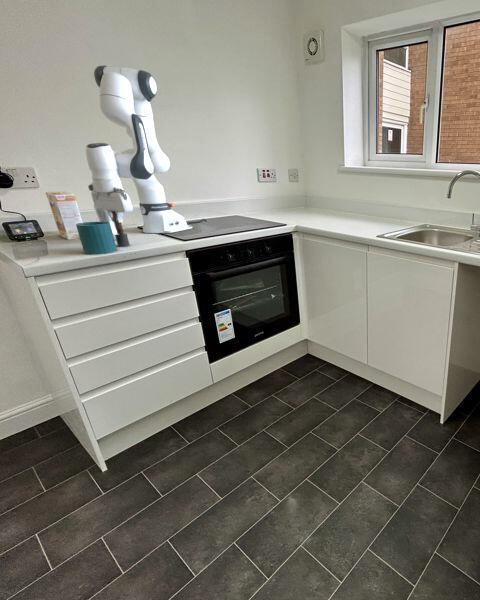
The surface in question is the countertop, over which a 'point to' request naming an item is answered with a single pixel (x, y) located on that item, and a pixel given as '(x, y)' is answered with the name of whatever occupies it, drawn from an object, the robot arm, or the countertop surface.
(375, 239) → the countertop surface
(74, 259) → the countertop surface
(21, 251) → the countertop surface
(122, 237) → the brush
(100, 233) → the teal pot
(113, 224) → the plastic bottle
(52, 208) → the coffeecake box
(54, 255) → the countertop surface
